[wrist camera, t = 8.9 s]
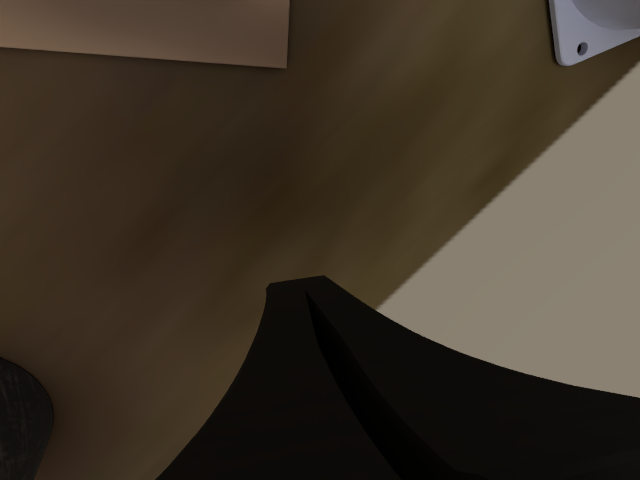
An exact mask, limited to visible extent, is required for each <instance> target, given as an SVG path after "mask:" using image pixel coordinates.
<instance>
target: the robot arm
mask: <svg viewBox="0 0 640 480" xmlns="http://www.w3.org/2000/svg"><path fill="white" fill-rule="evenodd" d="M549 6H550V14H551V22H552V30H553V38H554V46H555V54H556V60H557V62H558V63H559V64H560V65H563V66H570V65H574V64H576V63H578V62H581V61H583V60H585V59H588V58H590V57H592V56H595V55H597V54H599V53H602V52H604V51H606V50H609V49H611V48H613V47H616V46H618V45H620V44H623V43H625V42H627V41H629V40H632V39H634V38H636V37H639V36H640V0H549ZM579 44H580V45H581V51H580V52H579V54H578V53H577V47H578V45H579ZM266 294H267V296H266V303H265V308H264V312H263V315H262V318H261V322H260V325H259V328H258V331H257V333H256V336H255V338H254V341H253V343H252V345H251V347H250V350H249V352H248V354H247V357H246V359H245V361H244V363H243V365H242V366H241V368H240V370H239V372H238V374H237V376H236V377H235V379H234V381H233V382H232V384H231V386H230V387H229V389H228V391H227V392H226V394H225V395H224V397H223V398H222V400H221V401H220V403H219V404H218V405H217V407H216V408H215V410H214V411H213V413H212V414H211V416H210V417H209V418H208V420H207V421H206V422H205V424H204V425H203V426H202V427H201V429H200V430H199V431H198V432H197V434H196V435H195V436H194V437H193V438H192V439H191V441H190V442H189V443H188V444H187V445H186V446H185V448H184V449H183V450H182V451H181V452H180V453H179V455H178V456H177V457H176V458H175V459H174V460H173V461H172V463H171V464H170V465H169V466H168V467H167V468H166V469H165V470H164V471H163V472H162V474H161V475H160V476H158V477H157V478H156V479H155V480H640V398H638V397H632V396H627V395H621V394H616V393H610V392H605V391H600V390H594V389H589V388H583V387H578V386H573V385H568V384H564V383H560V382H556V381H552V380H548V379H544V378H540V377H536V376H532V375H528V374H524V373H521V372H518V371H514V370H511V369H508V368H504V367H501V366H498V365H495V364H492V363H489V362H486V361H483V360H480V359H477V358H474V357H471V356H469V355H466V354H463V353H460V352H458V351H455V350H453V349H450V348H448V347H445V346H444V345H441V344H439V343H437V342H434V341H432V340H430V339H427V338H425V337H423V336H421V335H419V334H417V333H415V332H413V331H411V330H409V329H407V328H405V327H403V326H402V325H400V324H398V323H396V322H394V321H393V320H391V319H389V318H387V317H386V316H384V315H382V314H381V313H379V312H377V311H376V310H374V309H372V308H371V307H369V306H368V305H366V304H365V303H363V302H362V301H360V300H359V299H357V298H356V297H354V296H353V295H351V294H350V293H348V292H347V291H346V290H344V289H343V288H341V287H340V286H339V285H337V284H336V283H334V282H333V281H332V280H330V279H329V278H327V277H326V276H324V275H323V276H316V277H309V278H302V279H296V280H289V281H282V282H275V283H270V284H269V286H268V287H267V288H266Z"/></svg>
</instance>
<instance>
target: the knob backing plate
mask: <svg viewBox="0 0 640 480" xmlns="http://www.w3.org/2000/svg"><path fill="white" fill-rule="evenodd" d="M289 3H290V0H0V47H9V48H22V49H35V50H49V51H62V52H75V53H89V54H102V55H115V56H128V57H142V58H155V59H168V60H181V61H195V62H208V63H221V64H235V65H248V66H261V67H274V68H287V48H288V26H289Z"/></svg>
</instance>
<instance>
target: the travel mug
mask: <svg viewBox="0 0 640 480" xmlns="http://www.w3.org/2000/svg"><path fill="white" fill-rule="evenodd" d="M52 425H53V411H52V405H51V403H50V400H49V397H48V396H47V394H46V392H45V390H44V389H43V388H42V386H41V385H40V384H39V383H38V382H37V381H36V380H35V379H34V378H33V377H32V376H31V375H30V374H28V373H27V372H26V371H24V370H23V369H21V368H19V367H18V366H16V365H14V364H12V363H10V362H8V361H6V360H3V359H0V480H34V477H35V475H36V472H37V470H38V467H39V464H40V462H41V459H42V456H43V454H44V451H45V448H46V445H47V443H48V440H49V437H50V434H51V430H52Z"/></svg>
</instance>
